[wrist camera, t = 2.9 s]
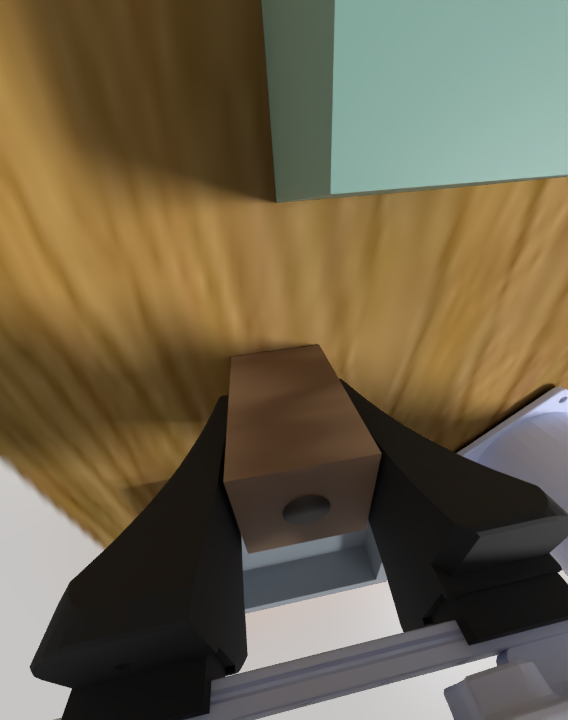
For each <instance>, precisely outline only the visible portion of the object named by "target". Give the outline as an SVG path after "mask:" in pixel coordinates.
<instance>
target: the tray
mask: <svg viewBox="0 0 568 720" xmlns="http://www.w3.org/2000/svg"><path fill="white" fill-rule="evenodd" d="M242 562H243V584H244V605H245V614H246V613H250V612H255V611H259V610H263V609H268V608H272V607H276V606H280V605H285V604H290V603H294V602H299V601H302V600H307V599H312V598H316V597H320V596H324V595H329V594H334V593H338V592H342V591H347V590H351V589H355V588H360V587H364V586H368V585H373V584H377V583H382V582H386V580H387V577H386V573H385V570H384V567H383V564H382V561H381V557H380V554H379V551H378V548H377V545H376V542H375V539H374V536H373V533H372V530H371V527H370V524H369V521H367V526H366V530H361V531H357V532H352V533H347V534H342V535H337V536H333V537H328V538H323V539H318V540H313V541H308V542H304V543H299V544H294V545H289V546H284V547H280V548H275V549H270V550H265V551H260V552H255V553H251V554H248V552H247V549H246V547H245V544H244V541H243V538H242Z"/></svg>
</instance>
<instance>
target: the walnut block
mask: <svg viewBox="0 0 568 720" xmlns="http://www.w3.org/2000/svg"><path fill="white" fill-rule="evenodd" d="M381 454H382V453H381V451H380V450H379V448H378V446H377V444H376V443H375V441H374V439H373V438H372V436H371V434H370V432H369V431H368V429H367V427H366V425H365V424H364V422H363V420H362V418H361V417H360V415H359V413H358V412H357V410H356V408H355V406H354V405H353V403H352V401H351V399H350V398H349V396H348V394H347V392H346V391H345V389H344V387H343V385H342V384H341V382H340V380H339V379H338V377H337V375H336V373H335V372H334V370H333V368H332V366H331V365H330V363H329V361H328V359H327V358H326V356H325V354H324V352H323V351H322V349H321V347H320V346H319V345H312V346H305V347H297V348H290V349H283V350H275V351H268V352H261V353H254V354H246V355H239V356H232V357H231V369H230V385H229V401H228V417H227V433H226V449H225V464H224V480H223V482H224V485H225V488H226V491H227V494H228V497H229V500H230V503H231V506H232V509H233V512H234V514H235V517H236V520H237V523H238V526H239V529H240V532H241V535H242V538H243V541H244V544H245V547H246V549H247V552H248V554H251V553H255V552H260V551H265V550H270V549H275V548H280V547H284V546H289V545H294V544H299V543H304V542H308V541H313V540H318V539H323V538H328V537H333V536H337V535H342V534H347V533H352V532H357V531H361V530H366V526H367V521H368V516H369V511H370V507H371V502H372V497H373V492H374V488H375V483H376V478H377V473H378V469H379V464H380V459H381Z"/></svg>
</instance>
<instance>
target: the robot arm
mask: <svg viewBox="0 0 568 720" xmlns="http://www.w3.org/2000/svg"><path fill="white" fill-rule="evenodd" d="M339 380H340V382H341V384H342V385H343V387H344V389H345V391H346V392H347V394H348V396H349V398H350V399H351V401H352V403H353V405H354V406H355V408H356V410H357V412H358V413H359V415H360V417H361V418H362V420H363V422H364V424H365V425H366V427H367V429H368V431H369V432H370V434H371V436H372V438H373V439H374V441H375V443H376V444H377V446H378V448H379V450H380V451H381V453H382V454H381V459H380V464H379V469H378V473H377V478H376V483H375V488H374V492H373V497H372V502H371V507H370V511H369V516H368V521H369V524H370V527H371V530H372V533H373V536H374V539H375V542H376V545H377V548H378V551H379V554H380V557H381V561H382V564H383V567H384V570H385V573H386V577H387V580H388V583H389V586H390V590H391V593H392V596H393V600H394V603H395V606H396V610H397V614H398V617H399V621H400V624H401V627H402V629H403V632H404V633H401V634H396V635H392V636H388V637H384V638H381V639H377V640H372V641H368V642H364V643H360V644H356V645H352V646H348V647H344V648H340V649H336V650H332V651H328V652H324V653H320V654H316V655H312V656H308V657H304V658H300V659H296V660H292V661H288V662H284V663H280V664H276V665H272V666H268V667H264V668H260V669H256V670H252V671H248V672H244V673H240V674H236V673H238V672H239V671H240V669H241V668H242V666H243V664H244V662H245V660H246V658H247V642H246V641H247V639H246V622H245V605H244V584H243V562H242V535H241V532H240V529H239V526H238V523H237V520H236V517H235V514H234V512H233V509H232V506H231V503H230V500H229V497H228V494H227V491H226V488H225V485H224V482H223V480H224V464H225V449H226V433H227V417H228V401H229V395H227V396H221V397H220V398H219V400H218V402H217V404H216V406H215V408H214V410H213V412H212V414H211V416H210V418H209V420H208V422H207V424H206V425H205V427H204V429H203V431H202V433H201V434H200V436H199V438H198V439H197V441H196V442H195V444H194V446H193V447H192V449H191V450H190V452H189V453H188V455H187V456H186V458H185V459H184V461H183V462H182V463H181V465H180V466H179V468H178V469H177V470H176V472H175V473H174V474H173V476H172V477H171V478H170V479H169V481H168V482H167V483H166V484H165V486H164V487H163V488H162V489H161V490H160V492H159V493H158V494H157V495H156V497H155V498H154V499H153V500H152V501H151V502H150V503H149V505H148V506H147V507H146V508H145V509H144V510H143V511H142V512H141V513H140V514H139V515H138V516H137V517H136V519H135V520H134V521H133V522H132V523H131V524H130V525H129V526H128V527H127V528H126V529H125V530H124V531H123V532H122V533H121V534H120V535H119V536H118V537H117V538H116V539H115V540H114V541H113V542H112V543H111V544H110V545H109V546H108V547H107V548H106V549H105V550H104V551H103V552H102V553H101V554H100V555H99V556H98V557H96V558H95V559H94V560H93V561H92V562H91V563H90V564H89V565H88V566H87V567H86V568H85V569H84V570H83V571H82V572H80V573H79V574H78V576H76V577H75V578H74V579H73V580H72V581H71V582H70V583H69V585H68V587H67V589H66V591H65V592H64V594H63V596H62V598H61V600H60V602H59V604H58V606H57V608H56V611H55V613H54V615H53V617H52V619H51V621H50V623H49V626H48V628H47V630H46V632H45V634H44V637H43V639H42V641H41V643H40V646H39V648H38V650H37V652H36V654H35V656H34V659H33V661H32V663H31V665H30V669H31V672H32V673H33V675H34V677H36V678H39V679H41V680H44V681H48V682H51V683H55V684H58V685H62V686H66V687H69V688H72V691H71V693H70V696H69V699H68V702H67V705H66V708H65V710H64V714H63V716H62V718H59V719H55V720H255V719H259V718H262V717H266V716H270V715H274V714H277V713H281V712H285V711H289V710H292V709H296V708H300V707H303V706H307V705H311V704H315V703H319V702H322V701H326V700H330V699H334V698H337V697H341V696H345V695H348V694H352V693H356V692H359V691H364V690H367V689H371V688H375V687H379V686H382V685H386V684H390V683H393V682H397V681H401V680H405V679H408V678H412V677H416V676H419V675H424V674H427V673H431V672H435V671H438V670H442V669H446V668H450V667H453V666H457V665H461V664H465V663H468V662H472V661H476V660H480V659H483V658H487V657H490V656H495V655H498V656H497V660H496V662H497V667H494V668H491V669H488V670H485V671H482V672H479V673H475V674H473V675H470V676H467V677H466V678H465V679H464V680H463V681H461V682H459V683H457V684H455V685H453V686H450V687H448V688H446V689H444V696H445V698H446V700H447V703H448V705H449V707H450V710H451V712H452V715H453V717H454V720H568V584H567V583H566V582H565V581H564V579H563V578H562V577H561V576H560V575H559V574H558V572H560V571H561V570H563V571H564V572H565V573H566V574H567V576H568V390H567V389H565V388H563V387H562V386H558V387H555V388H553V389H551V390H550V391H548V392H547V393H545V394H544V395H542V396H541V397H539V398H538V399H536V400H535V401H533V402H532V403H530V404H529V405H527V406H526V407H524V408H523V409H521V410H520V411H518V412H517V413H516V414H514V415H513V416H511V417H510V418H508V419H507V420H505V421H504V422H502V423H501V424H499V425H498V426H496V427H495V428H493V429H492V430H490V431H489V432H487V433H486V434H484V435H483V436H481V437H480V438H478V439H477V440H475V441H474V442H472V443H471V444H469V445H468V446H466V447H465V448H463V449H462V450H460V451H459V452H457V453H454V452H452V451H450V450H448V449H446V448H444V447H442V446H440V445H438V444H436V443H434V442H432V441H430V440H428V439H426V438H424V437H423V436H421V435H419V434H417V433H416V432H414V431H412V430H411V429H409V428H407V427H405V426H404V425H402V424H401V423H399V422H397V421H396V420H394V419H393V418H391V417H390V416H388V415H387V414H385V413H384V412H383V411H381V410H380V409H378V408H377V407H376V406H374V405H373V404H372V403H370V402H369V401H368V400H366V399H365V398H364V397H363V396H361V395H360V394H359V393H358V392H356V391H355V390H354V389H353V388H352V387H350V386H349V385H348V384H347V383H345V382H344V381H343V380H342V379H339ZM232 674H236V675H232ZM227 675H232V676H228V677H225V676H227Z"/></svg>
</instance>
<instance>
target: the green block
mask: <svg viewBox="0 0 568 720" xmlns="http://www.w3.org/2000/svg"><path fill="white" fill-rule="evenodd" d="M261 1H262V15H263V28H264V42H265V55H266V68H267V82H268V95H269V109H270V122H271V136H272V149H273V162H274V176H275V189H276V203H280V202H292V201H304V200H316V199H328V198H340V197H352V196H364V195H376V194H387V193H399V192H411V191H423V190H435V189H446V188H457V187H467V186H477V185H488V184H498V183H508V182H518V181H529V180H539V179H549V178H559V177H568V0H261Z"/></svg>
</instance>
